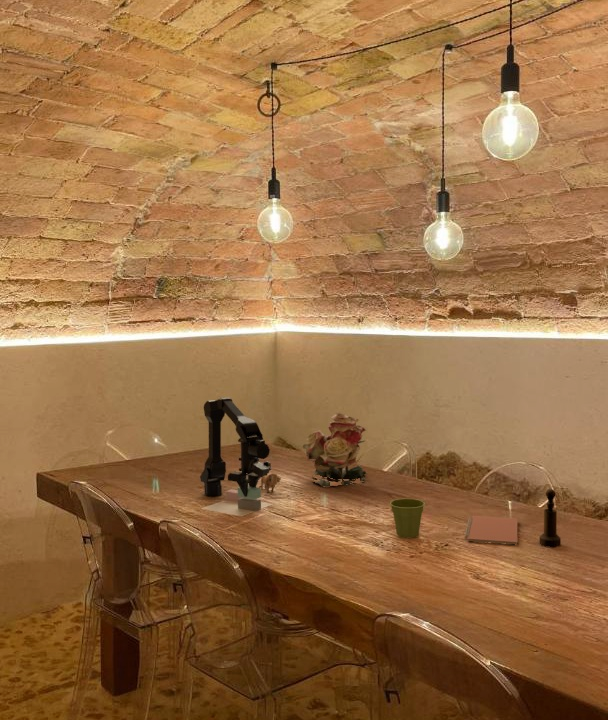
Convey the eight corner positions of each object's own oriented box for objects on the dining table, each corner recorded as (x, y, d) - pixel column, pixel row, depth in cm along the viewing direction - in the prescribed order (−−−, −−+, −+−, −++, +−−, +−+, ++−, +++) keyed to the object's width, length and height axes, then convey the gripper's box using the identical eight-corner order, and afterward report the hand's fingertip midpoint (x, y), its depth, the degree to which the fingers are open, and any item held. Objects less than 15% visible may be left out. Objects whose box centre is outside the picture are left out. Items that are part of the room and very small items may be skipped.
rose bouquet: (301, 475, 346) (300, 410, 344) (364, 473, 350) (363, 408, 347) (307, 489, 321) (307, 419, 319) (375, 486, 324) (375, 416, 322)
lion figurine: (282, 494, 313) (282, 473, 312) (271, 496, 310) (271, 475, 309) (264, 487, 325) (263, 467, 324) (253, 489, 322) (253, 468, 321)
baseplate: (200, 510, 291) (200, 499, 290) (233, 498, 307) (233, 488, 307) (241, 518, 280) (241, 507, 279) (273, 505, 296) (273, 495, 296)
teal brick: (237, 496, 290) (237, 487, 290) (244, 494, 294) (244, 485, 293) (254, 499, 286) (254, 490, 286) (260, 497, 289) (260, 488, 289)
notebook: (468, 520, 275) (469, 514, 275) (517, 523, 271) (517, 517, 271) (463, 543, 249) (463, 537, 249) (517, 547, 245) (517, 541, 244)
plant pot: (393, 529, 264) (392, 497, 263) (427, 531, 260) (427, 499, 260) (386, 539, 253) (386, 506, 252) (422, 542, 249) (422, 508, 248)
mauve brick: (225, 499, 303) (225, 491, 303) (231, 497, 306) (231, 489, 306) (241, 502, 299) (241, 493, 298) (247, 500, 302) (247, 491, 302)
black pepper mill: (543, 539, 250) (543, 485, 249) (563, 543, 247) (563, 488, 245) (536, 545, 245) (537, 490, 244) (557, 548, 241) (557, 492, 240)
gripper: (250, 461, 276) (250, 503, 278) (280, 452, 292) (280, 492, 293) (226, 458, 282) (227, 499, 284) (256, 449, 298) (257, 489, 299)
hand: (249, 495), depth 290 cm, fingers closed on teal brick, 4 cm apart
